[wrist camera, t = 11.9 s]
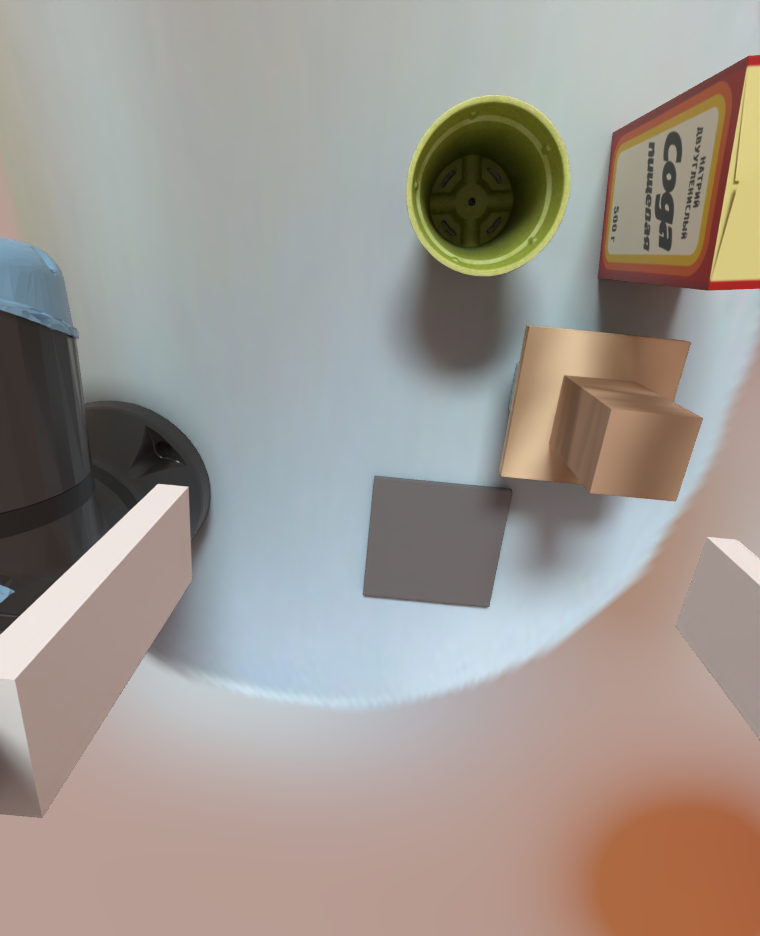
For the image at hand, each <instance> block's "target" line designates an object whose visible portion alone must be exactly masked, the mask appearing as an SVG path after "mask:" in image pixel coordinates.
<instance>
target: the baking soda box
mask: <svg viewBox="0 0 760 936" xmlns="http://www.w3.org/2000/svg"><path fill="white" fill-rule="evenodd" d="M598 278H605V279H613V280H622V281H630V282H639V283H648V284H656V285H665V286H674V287H682V288H691V289H700V290H734V289H760V55H755V56H748V57H746V58H744V59H742V60H741V61H739V62H737V63H735V64H734V65H732V66H730V67H728V68H726V69H725V70H723V71H721V72H719V73H718V74H716V75H714V76H712V77H711V78H709V79H707V80H705V81H703V82H702V83H700V84H698V85H696V86H695V87H693V88H691V89H689V90H688V91H686V92H684V93H682V94H681V95H679V96H677V97H675V98H673V99H672V100H670V101H668V102H666V103H665V104H663V105H661V106H659V107H658V108H656V109H654V110H652V111H651V112H649V113H647V114H645V115H643V116H642V117H640V118H638V119H636V120H635V121H633V122H631V123H629V124H628V125H626V126H624V127H622V128H620V129H619V130H617V131H615V132H613V136H612V146H611V156H610V166H609V175H608V185H607V195H606V204H605V214H604V224H603V233H602V243H601V253H600V262H599V272H598Z"/></svg>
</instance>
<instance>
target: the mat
mask: <svg viewBox="0 0 760 936" xmlns="http://www.w3.org/2000/svg"><path fill="white" fill-rule="evenodd" d="M511 495H512V490H511V489H505V488H495V487H485V486H475V485H464V484H454V483H444V482H433V481H423V480H413V479H403V478H392V477H382V476H374V486H373V497H372V507H371V517H370V528H369V538H368V549H367V559H366V569H365V580H364V590H363V595H370V596H380V597H391V598H401V599H411V600H422V601H432V602H443V603H453V604H464V605H474V606H484V607H489V605H490V600H491V595H492V590H493V585H494V580H495V575H496V570H497V565H498V560H499V555H500V550H501V545H502V540H503V535H504V530H505V525H506V520H507V515H508V510H509V505H510V500H511Z"/></svg>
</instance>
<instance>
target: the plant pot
mask: <svg viewBox="0 0 760 936" xmlns="http://www.w3.org/2000/svg"><path fill="white" fill-rule="evenodd" d="M487 168H488V169H489V168H490V169H492V170H494V171H496V172H497V173H498V174H499V176H500V177H501V181H502V182H501V183H500V184H498V183H497V181H496V180H495V178H494V177H493V176H492V175H491V174H490V173H489V171H487ZM452 170H455V171H456V174H455V175H453V176H452V178H450V179H449V181H448V182H447V183H446V185H445V187H442V185H441V183H442V182H443V180H444V179H445V178H446V176H447V174H448V173H449V172H450V171H452ZM569 192H570V164H569V158H568V154H567V151H566V148H565V145H564V143H563V141H562V139H561V137H560V135H559V133H558V131H557V129H556V128H555V127H554V125H553V124H552V123H551V121H550V120H549V119H548V118H547V117H546V116H545V115H544V114H543V113H542V112H540V111H539V110H538V109H536V108H535V107H533V106H532V105H530V104H528V103H526V102H524V101H521V100H519V99H516V98H513V97H509V96H502V95H487V96H480V97H476V98H472V99H469V100H467V101H464V102H462V103H460V104H458V105H456V106H454V107H452V108H451V109H449V110H448V111H446V112H445V113H444V114H443V115H441V116H440V117H439V118H438V119H437V120H436V121H435V122H434V123H433V124H432V125H431V127H430V128H429V129H428V130H427V132H426V133H425V134H424V136H423V137H422V139H421V140H420V142H419V144H418V146H417V148H416V150H415V152H414V155H413V158H412V160H411V163H410V167H409V171H408V176H407V185H406V203H407V210H408V214H409V218H410V221H411V225H412V227H413V229H414V232H415V234H416V236H417V237H418V239H419V241H420V242H421V244H422V245H423V246H424V248H425V249H426V250H427V251H428V252H429V253H430V254H431V255H432V256H433V257H434V258H435V259H436V260H437V261H439V262H440V263H442V264H443V265H445V266H447V267H448V268H450V269H452V270H454V271H457V272H460V273H463V274H467V275H472V276H495V275H500V274H505V273H508V272H510V271H513V270H515V269H517V268H519V267H521V266H523V265H524V264H526V263H528V262H529V261H530V260H531V259H533V258H534V257H535V256H536V255H537V254H538V253H540V252H541V251H542V250H543V248H544V247H545V246H546V245H547V244H548V243H549V241H550V240H551V239H552V237H553V236H554V234H555V233H556V231H557V229H558V227H559V225H560V223H561V221H562V219H563V216H564V213H565V211H566V207H567V203H568V199H569ZM471 198H474V199H475V204H474V205H472V206H470V205H469V204H468V201H469V200H470V199H471ZM498 217H500V219H501V221H500V223H499V225H498V226H497V227H496V228H495V229H494V230H493V231H492V232H491V233H487V232H486V231H487V230H488V229H489V228H490V227H491V226H492V225H493V224H494V223H495V222H496V220H497V219H498ZM443 220H444V221H445V222H446V223H447V224H448V226H449V227H450V228H451V229H452V230H454V231H455V232H456V235H450V234H449V233H448V232H447V231H446V230H445V229H444V228H443V226H442V221H443Z"/></svg>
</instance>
